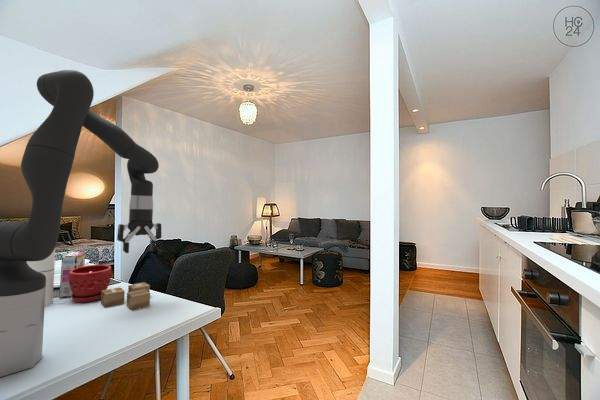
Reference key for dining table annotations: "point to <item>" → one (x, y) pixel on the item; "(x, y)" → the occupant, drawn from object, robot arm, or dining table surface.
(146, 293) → the plain walnut block
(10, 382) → the dining table surface
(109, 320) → the dining table surface
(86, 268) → the plant pot
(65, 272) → the candy bar box
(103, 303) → the marked walnut block bar
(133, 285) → the cube with circle marking
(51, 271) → the cylindrical container
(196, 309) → the dining table surface
